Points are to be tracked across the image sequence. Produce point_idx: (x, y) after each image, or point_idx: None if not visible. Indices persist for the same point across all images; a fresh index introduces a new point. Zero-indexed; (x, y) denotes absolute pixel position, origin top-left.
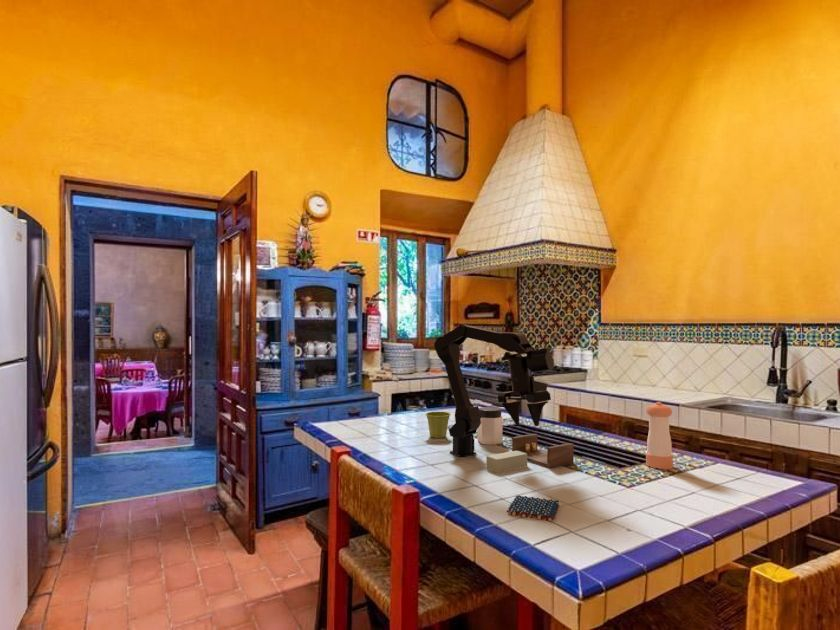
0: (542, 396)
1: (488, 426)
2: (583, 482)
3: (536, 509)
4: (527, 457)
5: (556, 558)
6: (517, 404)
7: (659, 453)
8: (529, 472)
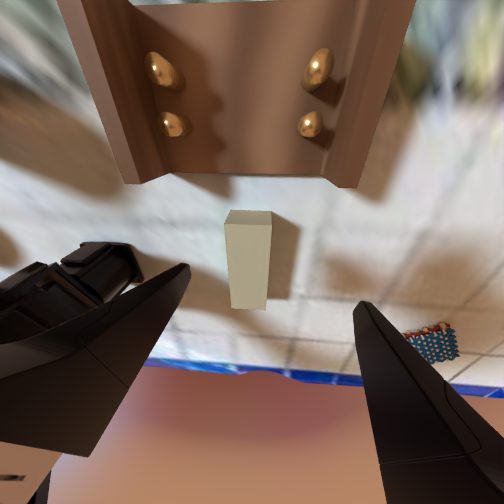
0: None
1: None
2: (468, 195)
3: (431, 359)
4: (227, 170)
5: (478, 385)
6: (42, 388)
7: None
8: (309, 242)
